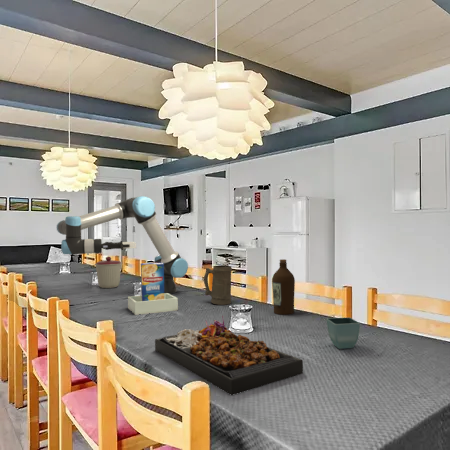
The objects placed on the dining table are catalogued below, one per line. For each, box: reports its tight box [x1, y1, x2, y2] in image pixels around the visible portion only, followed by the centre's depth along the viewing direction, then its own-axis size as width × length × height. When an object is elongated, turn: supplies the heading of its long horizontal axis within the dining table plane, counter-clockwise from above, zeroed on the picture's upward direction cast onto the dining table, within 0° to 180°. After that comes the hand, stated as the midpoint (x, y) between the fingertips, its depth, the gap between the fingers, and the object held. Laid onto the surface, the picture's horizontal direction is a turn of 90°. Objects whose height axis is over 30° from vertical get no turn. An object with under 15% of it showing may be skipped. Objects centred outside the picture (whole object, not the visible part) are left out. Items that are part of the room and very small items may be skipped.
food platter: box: [154, 315, 304, 396], centre depth 127 cm, size 45×25×10 cm, turn 34°
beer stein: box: [203, 264, 233, 306], centre depth 218 cm, size 15×11×20 cm
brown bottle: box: [271, 258, 296, 316], centre depth 192 cm, size 11×11×25 cm
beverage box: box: [140, 262, 164, 301], centre depth 205 cm, size 7×11×22 cm, turn 105°
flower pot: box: [326, 317, 361, 350], centre depth 139 cm, size 9×9×9 cm
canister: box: [94, 256, 123, 289], centre depth 281 cm, size 18×18×21 cm
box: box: [127, 293, 179, 316], centre depth 205 cm, size 21×17×6 cm
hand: (135, 244), depth 218 cm, fingers open, 13 cm apart
